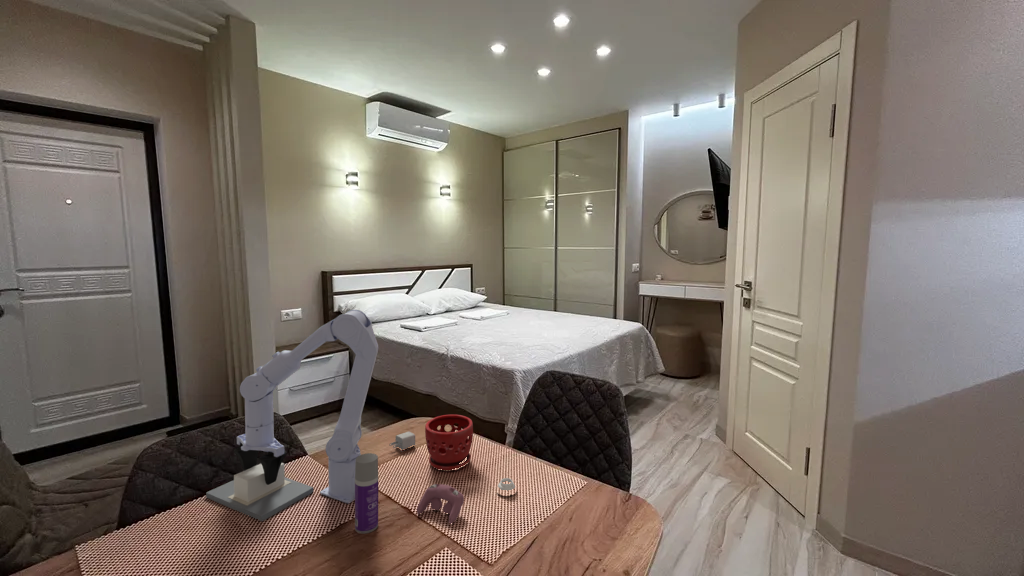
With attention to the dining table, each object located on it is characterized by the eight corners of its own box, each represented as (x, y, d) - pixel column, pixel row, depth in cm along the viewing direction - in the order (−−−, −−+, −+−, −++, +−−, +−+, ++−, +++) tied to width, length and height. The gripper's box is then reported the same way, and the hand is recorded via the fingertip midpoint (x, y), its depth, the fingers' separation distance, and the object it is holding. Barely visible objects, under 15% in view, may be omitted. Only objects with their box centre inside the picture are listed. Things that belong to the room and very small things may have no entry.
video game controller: (461, 524, 93) (468, 490, 95) (451, 526, 89) (459, 490, 91) (424, 512, 97) (432, 480, 99) (413, 513, 93) (422, 479, 95)
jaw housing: (284, 483, 102) (284, 463, 102) (248, 502, 94) (247, 480, 94) (271, 478, 104) (271, 459, 104) (234, 496, 96) (233, 475, 96)
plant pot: (433, 451, 124) (434, 412, 123) (476, 455, 122) (477, 415, 121) (417, 473, 111) (418, 429, 110) (465, 478, 109) (466, 433, 109)
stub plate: (313, 492, 101) (313, 480, 101) (261, 521, 89) (261, 508, 89) (260, 472, 110) (259, 461, 109) (206, 497, 98) (205, 485, 98)
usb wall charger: (415, 447, 127) (415, 434, 126) (394, 454, 122) (395, 441, 121) (407, 443, 129) (408, 430, 129) (387, 450, 124) (387, 437, 124)
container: (370, 535, 86) (371, 464, 85) (350, 531, 87) (350, 461, 86) (382, 521, 90) (382, 454, 90) (362, 518, 91) (362, 451, 90)
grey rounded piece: (515, 499, 100) (517, 488, 105) (515, 487, 100) (517, 476, 105) (494, 497, 101) (497, 486, 106) (495, 485, 101) (497, 475, 106)
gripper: (223, 423, 98) (224, 479, 99) (263, 435, 92) (264, 494, 93) (252, 413, 104) (253, 466, 105) (292, 424, 98) (292, 480, 99)
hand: (260, 478), depth 99 cm, fingers open, 7 cm apart
